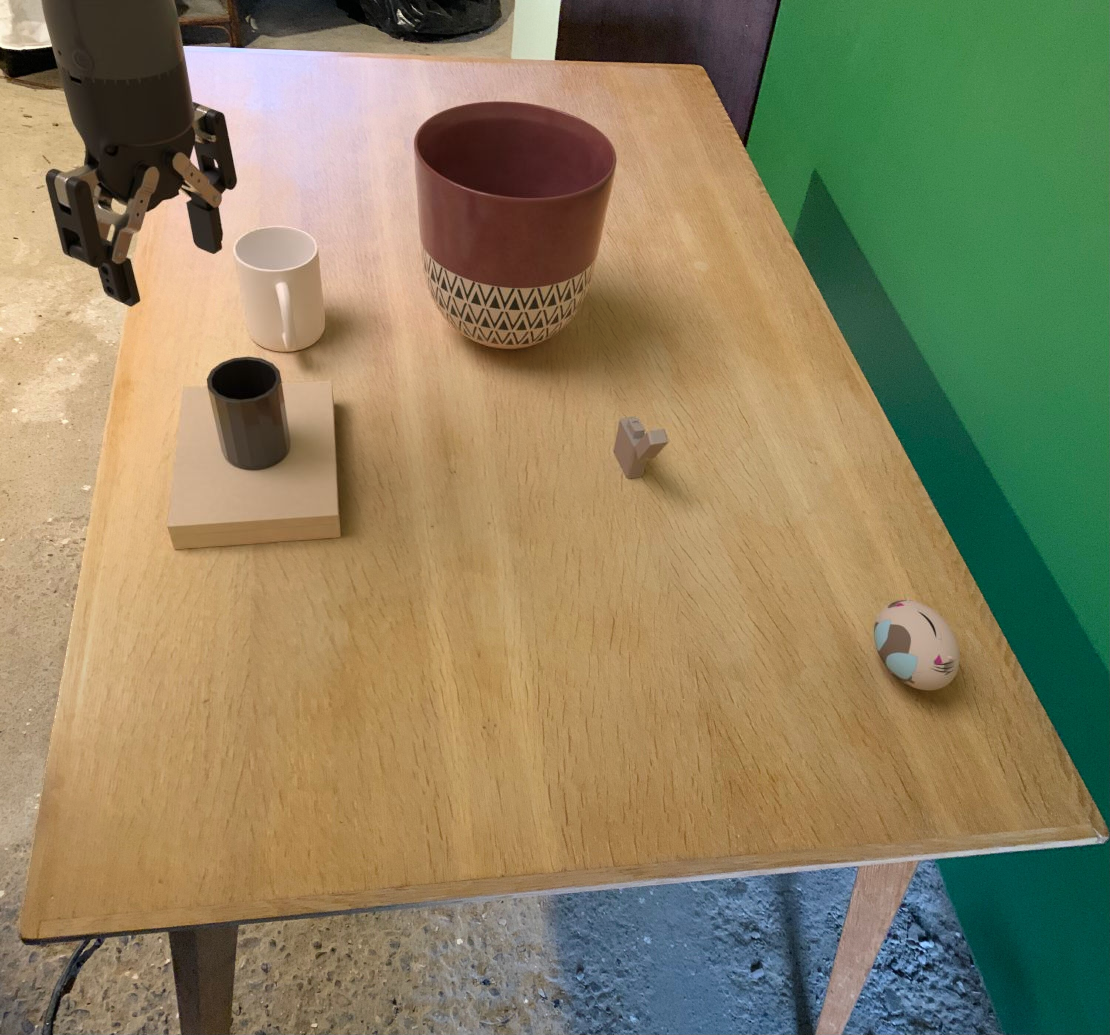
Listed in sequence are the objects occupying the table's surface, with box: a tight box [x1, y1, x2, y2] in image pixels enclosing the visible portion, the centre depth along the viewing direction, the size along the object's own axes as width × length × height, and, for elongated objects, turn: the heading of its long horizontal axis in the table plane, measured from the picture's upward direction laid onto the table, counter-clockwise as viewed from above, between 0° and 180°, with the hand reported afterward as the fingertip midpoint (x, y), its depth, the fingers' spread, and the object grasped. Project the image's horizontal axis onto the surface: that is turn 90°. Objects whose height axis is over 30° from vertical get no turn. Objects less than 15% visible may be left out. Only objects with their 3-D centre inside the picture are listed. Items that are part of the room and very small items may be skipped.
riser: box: [166, 380, 342, 550], centre depth 87 cm, size 18×14×3 cm
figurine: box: [873, 596, 961, 691], centre depth 78 cm, size 8×6×7 cm
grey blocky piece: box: [613, 415, 669, 480], centre depth 90 cm, size 7×2×8 cm, turn 18°
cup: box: [232, 225, 326, 353], centre depth 98 cm, size 8×12×10 cm
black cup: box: [206, 356, 291, 470], centre depth 83 cm, size 6×6×8 cm
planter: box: [413, 100, 618, 350], centre depth 99 cm, size 20×20×21 cm
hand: (168, 274), depth 71 cm, fingers open, 8 cm apart
